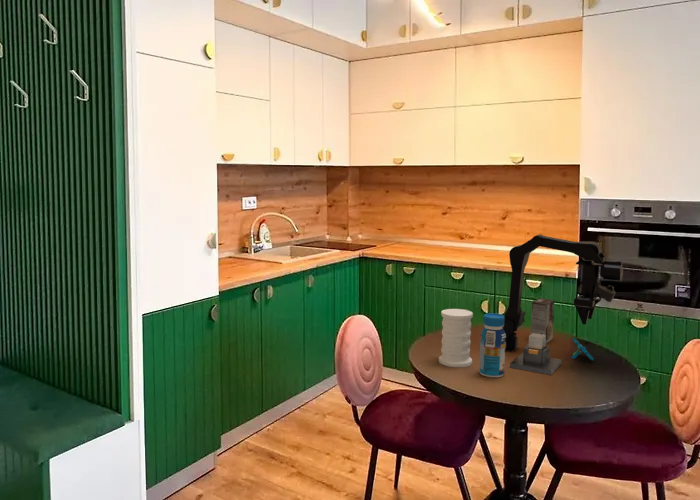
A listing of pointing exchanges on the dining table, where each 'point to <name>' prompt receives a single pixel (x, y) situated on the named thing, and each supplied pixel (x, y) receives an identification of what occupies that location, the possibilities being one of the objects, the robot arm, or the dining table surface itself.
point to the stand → (536, 361)
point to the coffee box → (543, 317)
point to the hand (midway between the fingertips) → (587, 321)
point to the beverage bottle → (492, 346)
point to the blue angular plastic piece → (581, 350)
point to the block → (537, 341)
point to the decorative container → (456, 338)
